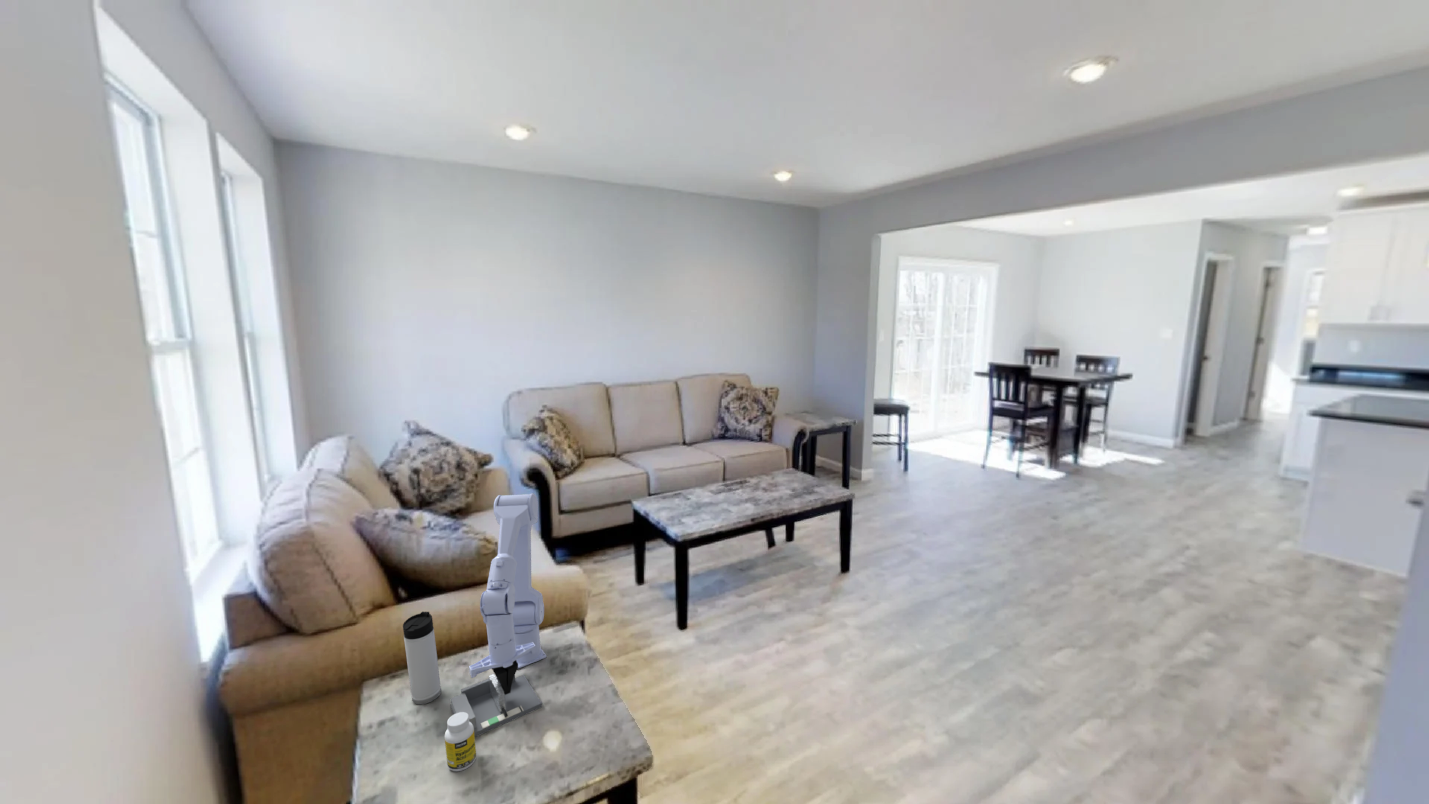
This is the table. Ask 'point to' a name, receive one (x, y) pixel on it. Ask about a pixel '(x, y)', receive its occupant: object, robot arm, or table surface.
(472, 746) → the supplement bottle
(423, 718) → the table surface
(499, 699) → the paddle
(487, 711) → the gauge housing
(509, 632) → the robot arm
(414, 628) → the travel mug
